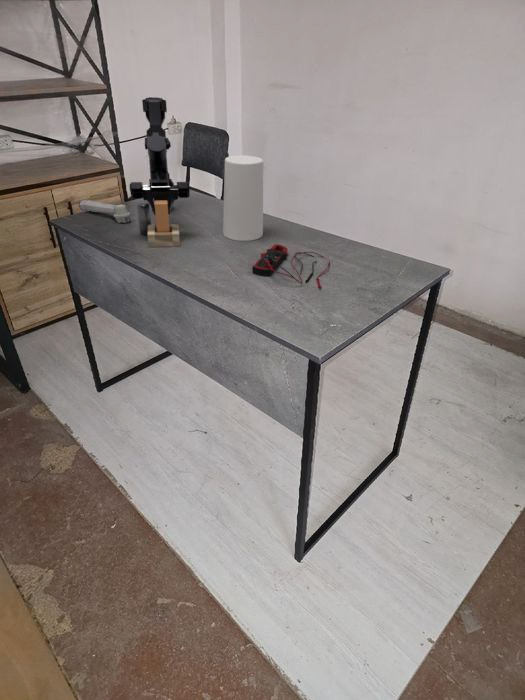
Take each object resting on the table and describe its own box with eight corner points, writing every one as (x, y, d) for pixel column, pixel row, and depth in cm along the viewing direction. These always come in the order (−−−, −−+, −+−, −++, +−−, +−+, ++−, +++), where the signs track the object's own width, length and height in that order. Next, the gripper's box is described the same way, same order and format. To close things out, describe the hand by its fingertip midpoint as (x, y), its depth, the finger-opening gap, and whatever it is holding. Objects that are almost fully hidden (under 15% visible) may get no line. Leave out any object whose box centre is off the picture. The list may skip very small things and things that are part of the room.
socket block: (149, 236, 158) (148, 224, 156) (178, 235, 160) (178, 224, 158) (148, 247, 150) (147, 235, 148) (179, 246, 152) (179, 234, 150)
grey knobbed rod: (87, 198, 180) (130, 201, 167) (91, 215, 183) (134, 220, 170) (75, 201, 176) (119, 204, 163) (80, 218, 179) (123, 223, 166)
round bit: (143, 231, 162) (140, 202, 157) (154, 232, 161) (151, 203, 156) (138, 234, 159) (134, 205, 154) (148, 236, 158) (145, 206, 153)
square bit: (157, 230, 155) (154, 200, 149) (169, 230, 155) (167, 200, 150) (157, 234, 151) (154, 204, 146) (169, 234, 152) (167, 204, 147)
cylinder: (256, 165, 142) (214, 160, 146) (254, 243, 156) (216, 237, 160) (271, 157, 153) (232, 152, 157) (268, 230, 167) (232, 225, 171)
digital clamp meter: (242, 264, 132) (271, 236, 151) (242, 279, 134) (270, 249, 154) (322, 278, 125) (341, 247, 145) (320, 293, 128) (339, 261, 148)
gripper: (187, 183, 161) (190, 225, 158) (132, 183, 157) (134, 226, 155) (187, 164, 150) (191, 209, 147) (128, 164, 147) (130, 210, 144)
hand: (161, 214), depth 149 cm, fingers closed on square bit, 4 cm apart
